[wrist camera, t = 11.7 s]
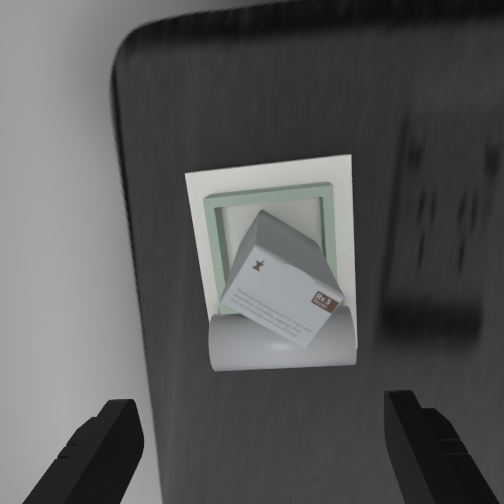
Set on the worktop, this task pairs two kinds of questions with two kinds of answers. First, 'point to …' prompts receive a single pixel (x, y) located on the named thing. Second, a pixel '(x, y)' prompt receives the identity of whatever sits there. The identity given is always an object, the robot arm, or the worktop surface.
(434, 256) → the worktop surface
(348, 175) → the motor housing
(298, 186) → the green piece
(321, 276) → the skincare box
